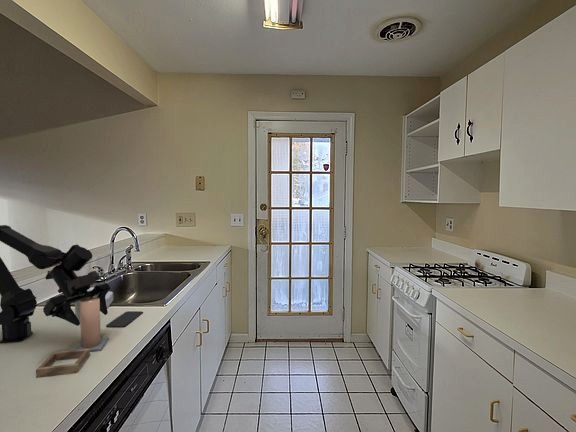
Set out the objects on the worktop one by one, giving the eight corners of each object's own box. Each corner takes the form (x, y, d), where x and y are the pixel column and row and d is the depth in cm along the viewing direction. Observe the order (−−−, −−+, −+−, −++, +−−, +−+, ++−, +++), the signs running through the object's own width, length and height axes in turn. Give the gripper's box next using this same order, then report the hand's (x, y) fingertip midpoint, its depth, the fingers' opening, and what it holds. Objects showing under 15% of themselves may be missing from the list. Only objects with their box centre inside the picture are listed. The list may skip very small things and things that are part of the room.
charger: (78, 315, 125) (90, 303, 140) (104, 313, 128) (113, 301, 142) (78, 304, 125) (89, 292, 139) (104, 301, 128) (113, 291, 142)
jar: (78, 348, 97) (77, 303, 96) (84, 341, 102) (83, 298, 101) (97, 346, 98) (96, 302, 97) (102, 339, 103) (101, 297, 102)
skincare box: (97, 317, 123) (96, 286, 122) (94, 321, 119) (93, 289, 118) (78, 319, 121) (77, 288, 120) (74, 324, 117) (73, 291, 116)
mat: (71, 353, 95) (71, 351, 95) (81, 341, 103) (81, 339, 103) (101, 350, 97) (101, 348, 97) (109, 339, 105) (109, 337, 104)
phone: (144, 311, 129) (124, 326, 114) (144, 313, 129) (125, 328, 114) (126, 311, 129) (104, 326, 114) (126, 313, 129) (104, 328, 114)
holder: (36, 377, 83) (35, 369, 82) (53, 359, 92) (53, 352, 92) (77, 372, 85) (77, 365, 85) (90, 355, 94) (90, 348, 94)
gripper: (47, 271, 91) (75, 314, 88) (105, 259, 108) (131, 294, 105) (31, 295, 94) (57, 337, 91) (90, 279, 111) (114, 314, 108)
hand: (93, 319), depth 99 cm, fingers open, 9 cm apart
